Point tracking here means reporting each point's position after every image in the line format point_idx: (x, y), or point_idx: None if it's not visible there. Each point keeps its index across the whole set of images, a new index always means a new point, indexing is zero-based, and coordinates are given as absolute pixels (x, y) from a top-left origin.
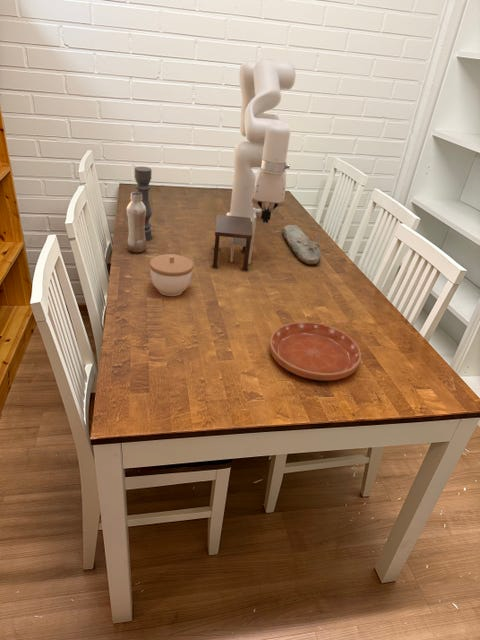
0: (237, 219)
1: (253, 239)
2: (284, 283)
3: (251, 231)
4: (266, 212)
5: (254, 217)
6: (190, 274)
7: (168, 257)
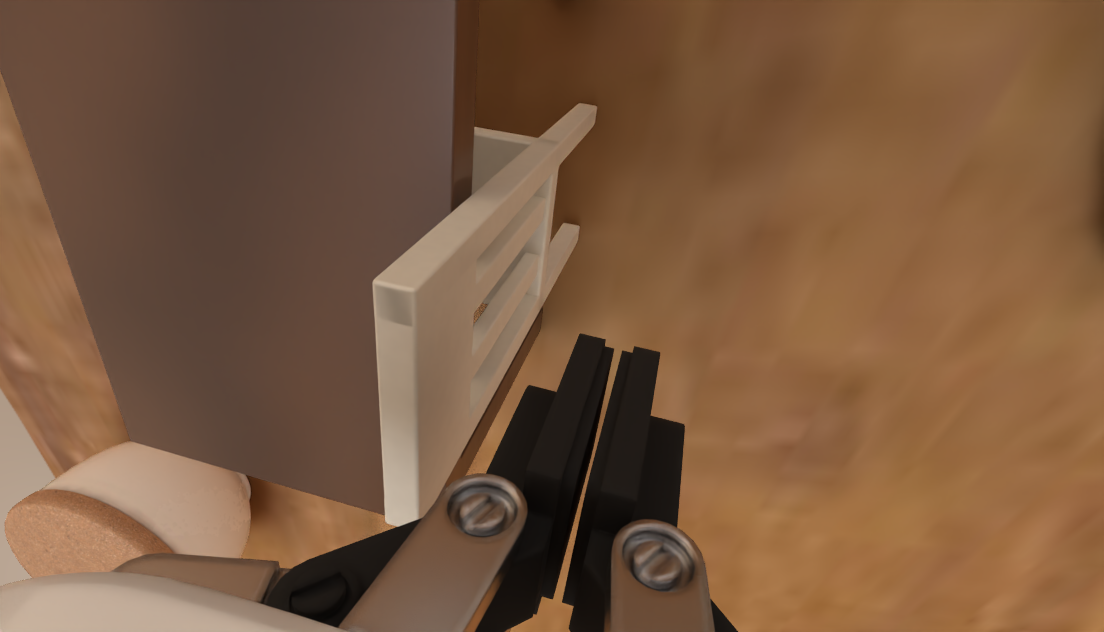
0: (250, 54)
1: (519, 345)
2: (748, 484)
3: None
4: (552, 593)
5: (389, 523)
6: None
7: (58, 543)
